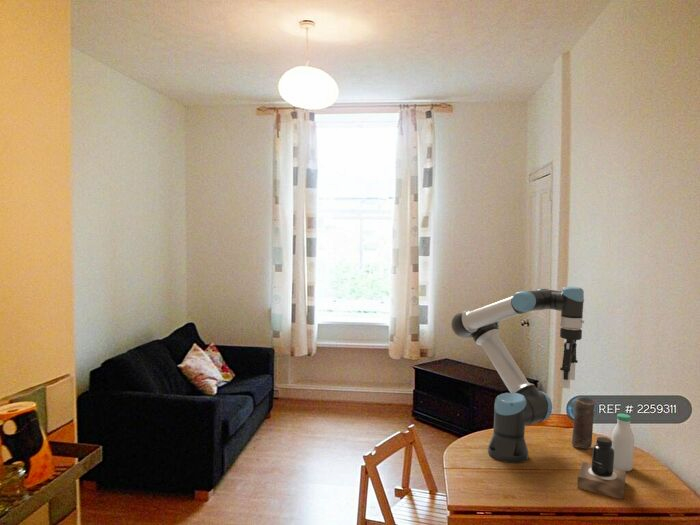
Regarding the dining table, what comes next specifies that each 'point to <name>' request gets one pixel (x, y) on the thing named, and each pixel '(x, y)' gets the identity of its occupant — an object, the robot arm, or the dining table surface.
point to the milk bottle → (623, 443)
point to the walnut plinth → (602, 481)
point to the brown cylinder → (583, 423)
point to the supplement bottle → (603, 457)
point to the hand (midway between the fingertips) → (568, 383)
